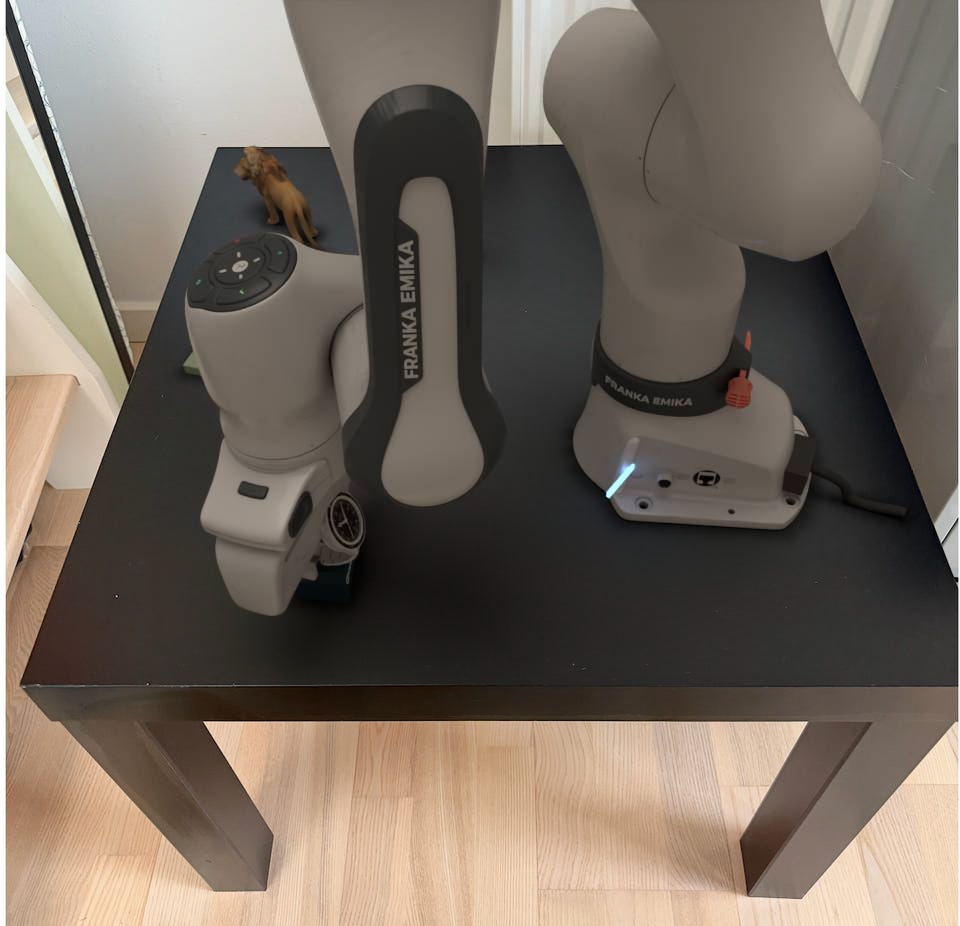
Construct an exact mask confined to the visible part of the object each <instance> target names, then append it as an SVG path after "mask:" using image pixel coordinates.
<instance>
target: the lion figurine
mask: <svg viewBox="0 0 960 926" xmlns="http://www.w3.org/2000/svg"><path fill="white" fill-rule="evenodd" d="M233 172H234V174H235V175H236V176H237V177H238V178H239V179H240V180H241V181H242V182H247V181H251V184H252V186H255V187H256V190H257V191H258V193H259V194H260V195H261V196H262V198H263V201H264V204H265V207H266V209H267V211H268V212H269V217H268V218H267V224H269V225H276V224H278V223H279V222H280V216H279V213H278V212H277V209H276V206H277V207H278V209H280V210H281V211H282V214H283V218H284V221H285V225H286V227H287V229H288V231H289V233H290V235H291V236H292V239H294V240H296V241H298V242H300V243H301V244H303V245H305V243H304V240H303V239H302V237H301V235H300V234H299V230H298V219H299V222H300V225H301V227H302V230H303V232H304V235H305V236H306V239H307V240H308V241H309V243H310V244H311V245H312V246H313V247H314V249H315V250H319V251H323V252H328V251H327V249H325V248H324V247H323V246H322V245H321V244H319V243H318V242H316V241H315V240H314V238H315V237H317V236H318V234H319V233H318V230H317V229H316V228H315V227H314V224H313V219H312V218H313V217H312V213H311V211H312V210H311V208H310V205H309V203H308V200H307V198H306V197H305V196H304V194H303V193H302V192H301V191H300V190H298V189H297V188H296V187H295V185H294V184H293V183H292V182H291V180H289V178H288V173H287V170H286V169H285V167H284V165H283V164H282V163H280V162H279V160H278V159H277V158H275V156H274V155H273V154H271V153H270V152H269V151H268V150H267V149H265V148H263V147H262V146H256V145H255V144H254V145H250V146H246V147H243V157H242V158H241V159H240V163H239V164H238V165H236V167H235V168H234V169H233Z"/></svg>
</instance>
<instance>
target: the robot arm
mask: <svg viewBox="0 0 960 926" xmlns="http://www.w3.org/2000/svg"><path fill="white" fill-rule="evenodd" d="M502 2H503V0H282V5H283V9H284V13H285V17H286V20H287V23H288V28H289V31H290V34H291V38H292V41H293V44H294V48H295V51H296V54H297V57H298V60H299V63H300V66H301V69H302V72H303V75H304V77H305V80H306V84H307V86H308V90H309V93H310V96H311V98H312V102H313V104H314V108H315V109H316V112H317V115H318V118H319V121H320V123H321V126H322V129H323V132H324V135H325V137H326V140H327V142H328V146H329V148H330V151H331V154H332V157H333V160H334V163H335V165H336V169H337V171H338V175H339V178H340V181H341V184H342V187H343V190H344V194H345V196H346V200H347V203H348V207H349V211H350V213H351V219H352V223H353V228H354V231H355V232H354V233H355V237H356V241H357V242H356V243H357V248H358V254H357V255H355V254H343V253H342V254H341V253H335V252H328V251H327V252H323V251H319V250H317V249H316V248H312V247H309V246H307V245H305V244H304V245H303V244H301V243H300V242H298V241H296V240H295V239H294V238H293V237H290V236H288V235H285V234H282V233H277V232H256V233H249V234H246V235H242V236H239V237H236V238H233V239H231V240H229V241H227V242H225V243H223V244H222V245H220V246H218V247H217V248H215V249H213V250H212V251H210V253H208V255H207V256H205V257H204V258H203V259H202V260H201V262H199V264H198V265H197V267H196V268H195V269H194V271H193V273H192V275H191V276H190V279H189V281H188V284H187V287H186V293H185V297H184V315H185V321H186V328H187V332H188V337H189V341H190V345H191V348H192V352H194V355H195V359H196V362H197V365H198V368H199V371H200V373H201V376H200V377H201V378H202V382H203V384H204V386H205V390H206V391H207V394H208V395H209V396H210V398H211V399H212V401H213V402H214V403H215V404H216V405H217V406H218V408H219V423H220V427H221V430H222V434H223V436H224V437H223V438H222V442H221V443H220V444H221V445H220V449H219V455H218V460H217V464H216V469H215V472H214V476H213V479H212V482H211V485H210V488H209V490H208V493H207V494H206V495H207V496H206V498H205V501H204V503H203V505H202V507H201V511H200V517H199V518H200V519H199V520H200V524H201V527H202V529H203V531H204V532H206V533H208V534H209V535H213V536H215V537H216V539H215V549H214V551H215V559H216V564H217V566H218V570H219V572H220V575H221V577H222V580H223V583H224V584H225V587H226V589H227V591H228V594H229V595H230V597H231V599H232V600H233V602H234V603H235V604H236V605H237V606H238V607H240V608H242V609H243V610H246V611H250V612H252V613H255V614H260V615H264V616H268V617H269V616H270V617H276V616H279V615H280V616H281V615H282V614H284V613H285V612H286V611H287V609H288V606H289V604H290V602H291V600H292V598H293V596H294V594H295V593H296V591H295V590H296V588H297V586H298V584H299V582H300V580H301V578H305V579H309V580H316V578H317V576H318V574H319V572H320V570H321V568H322V565H323V564H322V563H321V558H320V556H319V555H316V554H314V553H315V551H316V549H317V547H318V545H319V543H320V541H321V539H322V532H321V527H322V524H323V522H324V517H325V512H326V510H327V508H328V506H329V505H330V503H331V502H332V501H333V499H334V498H335V497H336V496H337V495H338V494H339V493H340V492H341V491H344V492H345V491H347V492H349V490H350V483H351V481H352V482H353V484H354V485H356V486H357V487H359V488H360V489H362V490H363V491H365V492H366V493H368V494H370V495H372V496H373V497H375V498H376V499H379V500H381V501H384V502H386V503H389V504H392V505H394V506H397V507H401V508H404V509H405V508H406V509H411V510H421V511H422V510H423V511H424V510H425V511H426V510H436V509H441V508H444V507H448V506H450V505H453V504H455V503H458V502H459V501H461V500H463V499H464V498H466V497H467V496H469V495H470V494H471V493H473V492H474V490H476V489H477V488H478V487H479V486H480V485H481V484H482V483H484V481H485V480H486V479H487V478H488V477H489V475H490V474H491V473H492V471H493V470H494V468H496V466H497V465H498V463H499V461H500V459H501V458H502V456H503V454H504V452H505V450H506V449H507V445H508V442H509V440H508V439H509V431H508V428H507V425H506V422H505V420H504V417H503V414H502V412H501V409H500V407H499V404H498V401H497V399H495V397H494V395H493V393H492V389H491V386H490V383H489V380H488V378H487V374H486V371H485V369H484V365H483V361H482V360H483V359H482V358H483V357H482V356H483V355H482V353H483V275H484V274H483V273H484V272H483V269H484V267H483V266H484V265H483V262H484V261H483V258H484V257H483V256H484V248H483V247H484V225H483V223H484V183H485V173H486V162H487V153H488V143H489V132H490V119H491V108H492V107H491V106H492V95H493V85H494V84H493V81H494V72H495V65H496V64H495V63H496V57H497V56H496V55H497V48H498V39H499V33H500V32H499V30H500V23H501V12H502ZM630 2H632V5H634V7H635V9H629V8H626V9H625V8H617V7H608V6H604V7H599V8H595V9H592V10H590V11H588V12H586V13H585V14H583V15H582V16H580V17H579V18H578V19H577V20H576V21H574V22H573V23H572V24H571V25H570V26H569V27H568V28H567V29H566V31H565V32H564V33H563V34H562V36H561V37H560V38H559V40H558V42H556V43H557V44H556V45H555V46H554V48H553V50H552V52H551V54H550V56H549V59H548V62H547V65H546V67H545V68H546V69H545V72H544V76H543V83H542V107H543V112H544V115H545V118H546V120H547V123H548V124H549V126H550V127H551V129H552V130H553V132H554V133H555V135H556V136H557V137H558V139H559V141H560V142H561V143H562V145H563V147H564V148H565V150H566V152H567V154H568V155H569V157H570V159H571V162H572V163H573V165H574V167H575V169H576V171H577V174H578V177H579V179H580V182H581V184H582V186H583V189H584V193H585V196H586V198H587V201H588V204H589V208H590V211H591V215H592V218H593V222H594V225H595V228H596V232H597V236H598V241H599V245H600V251H601V258H602V270H603V271H602V298H601V312H600V313H601V314H600V318H599V321H598V323H597V326H596V329H595V332H594V334H593V338H592V345H591V352H590V365H589V367H590V368H589V371H590V383H591V387H590V391H589V395H588V398H587V401H586V404H585V407H584V408H583V411H582V413H581V416H580V417H579V419H578V421H577V422H576V425H575V427H574V431H573V434H572V435H573V436H572V447H573V453H574V455H575V458H576V461H577V463H578V465H579V466H580V468H581V469H582V471H583V472H584V474H585V475H586V476H587V477H588V478H589V479H590V480H591V481H592V482H594V483H595V484H596V485H597V486H598V487H599V488H600V489H601V490H602V491H604V492H605V494H606V495H605V497H607V498H608V499H609V502H610V503H611V505H612V507H613V509H614V511H615V513H616V514H617V515H618V516H619V517H621V518H622V519H624V520H627V521H633V522H647V523H648V522H649V523H663V524H665V523H666V524H677V525H679V524H680V525H696V526H711V527H712V526H713V527H724V528H725V527H727V528H728V527H729V528H742V529H743V528H745V529H759V530H775V531H776V530H783V529H786V528H787V527H789V525H791V523H792V522H794V520H795V519H796V518H797V517H798V516H799V514H800V512H801V511H802V509H803V507H804V504H805V502H806V500H807V496H808V493H809V488H810V485H811V484H810V483H811V478H812V475H815V476H817V477H819V478H821V479H824V480H826V481H828V482H830V483H832V484H833V485H835V486H837V487H838V488H839V491H840V495H841V497H842V498H843V500H845V501H846V502H847V503H849V504H850V505H852V506H854V507H856V508H859V509H861V510H864V511H868V512H873V513H879V514H885V515H890V516H895V517H899V518H904V517H905V516H906V512H907V507H905V506H901V505H898V504H897V505H896V504H891V503H886V502H879V501H875V500H870V499H867V498H863V497H861V496H859V495H857V494H855V493H853V490H852V486H851V484H850V482H849V481H848V480H847V479H846V478H845V477H843V476H842V475H840V474H839V473H837V472H836V471H833V470H831V469H829V468H826V467H824V466H822V465H820V464H818V463H815V462H814V460H815V456H816V451H817V448H818V444H819V441H820V440H819V439H818V438H814V437H810V436H809V434H808V432H807V430H806V428H805V426H804V424H803V423H802V421H801V420H800V418H798V416H796V415H794V412H793V407H792V404H791V401H790V398H789V396H788V395H787V393H786V392H785V391H784V389H783V388H782V387H780V386H779V385H778V384H776V383H775V382H773V381H771V380H770V379H769V378H768V377H765V376H764V374H761V373H760V372H758V371H757V370H756V369H755V368H753V367H752V364H753V363H752V361H753V355H752V352H751V346H752V337H751V331H750V330H747V332H746V335H745V336H746V337H745V339H744V344H743V342H742V341H741V340H740V339H738V337H737V336H736V335H735V330H736V325H737V320H738V317H739V313H740V308H741V304H742V300H743V297H744V293H745V288H746V283H747V282H746V281H747V274H746V273H747V272H746V264H745V260H744V257H743V256H744V255H743V254H742V253H743V252H742V250H741V248H745V249H748V250H751V251H753V252H757V253H759V254H764V255H767V256H771V257H775V258H778V259H781V260H785V261H788V262H795V263H796V262H802V261H804V260H807V259H811V258H813V257H816V256H817V255H820V254H822V253H824V252H826V251H828V250H829V249H831V248H833V247H834V246H836V245H837V244H838V243H840V242H841V241H842V240H844V239H845V238H847V236H848V235H849V234H850V233H851V232H852V231H853V230H854V229H855V228H856V227H857V225H859V223H860V222H861V221H862V219H863V218H864V217H865V215H866V214H867V212H868V210H869V209H870V207H871V205H872V204H873V201H874V199H875V196H876V193H877V191H878V189H879V186H880V181H881V177H882V172H883V171H882V170H883V161H884V160H883V159H884V157H883V156H884V155H883V144H882V143H883V142H882V138H881V133H880V129H879V127H878V125H877V124H876V123H875V122H874V119H872V117H871V116H870V115H869V114H868V112H867V111H866V110H865V108H864V107H863V106H862V104H861V102H859V100H858V99H857V97H856V95H855V93H854V92H853V90H852V89H851V87H850V85H849V83H848V81H847V80H846V77H845V75H844V73H843V71H842V69H841V66H840V63H839V62H838V61H839V60H838V59H837V56H836V53H835V50H834V48H833V45H832V41H831V38H830V34H829V31H828V28H827V24H826V20H825V15H824V12H823V8H822V2H821V0H630ZM740 247H741V248H740ZM789 503H790V504H789ZM641 507H644V508H641Z"/></svg>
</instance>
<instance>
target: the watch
mask: <svg viewBox="0 0 960 926" xmlns="http://www.w3.org/2000/svg"><path fill="white" fill-rule="evenodd" d="M321 532H322V539H321V541H320V543H319V545H318V547H317V549H316V551H315V553H314V554H316V555H319V556H320V558H321V563H322V564H323V565H322V568H321V570H320V572H319V574H318V576H317V578H316V580H309V579H305V578H301V580H300V582H299V584H298V586H297V588H296V590H295V594H296V597H297V599H298V600H308V601H310V600H311V601H325V602H340V603H341V602H342V603H348V601H349V597H350V591H351V587H352V581H353V577H354V576H353V575H354V570H355V565H356V560H357V557H358V555H359V552H360V547H361V545H362V544H363V542H364V539H365V537H366V536H365V535H366V520H365V516H364V513H363V510H362V508H361V506H360V504H359V502H358V501H357V500H356V498H355V497H354V496H353V495H352V494H351V492H349V491H348V492H347V491H345V492H344V491H341V492H340V493H339V494H338V495H337V496H336V497H335V498H334V499H333V501H332V502H331V503H330V505H329V506H328V508H327V510H326V512H325V517H324V522H323V524H322V527H321Z"/></svg>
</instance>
